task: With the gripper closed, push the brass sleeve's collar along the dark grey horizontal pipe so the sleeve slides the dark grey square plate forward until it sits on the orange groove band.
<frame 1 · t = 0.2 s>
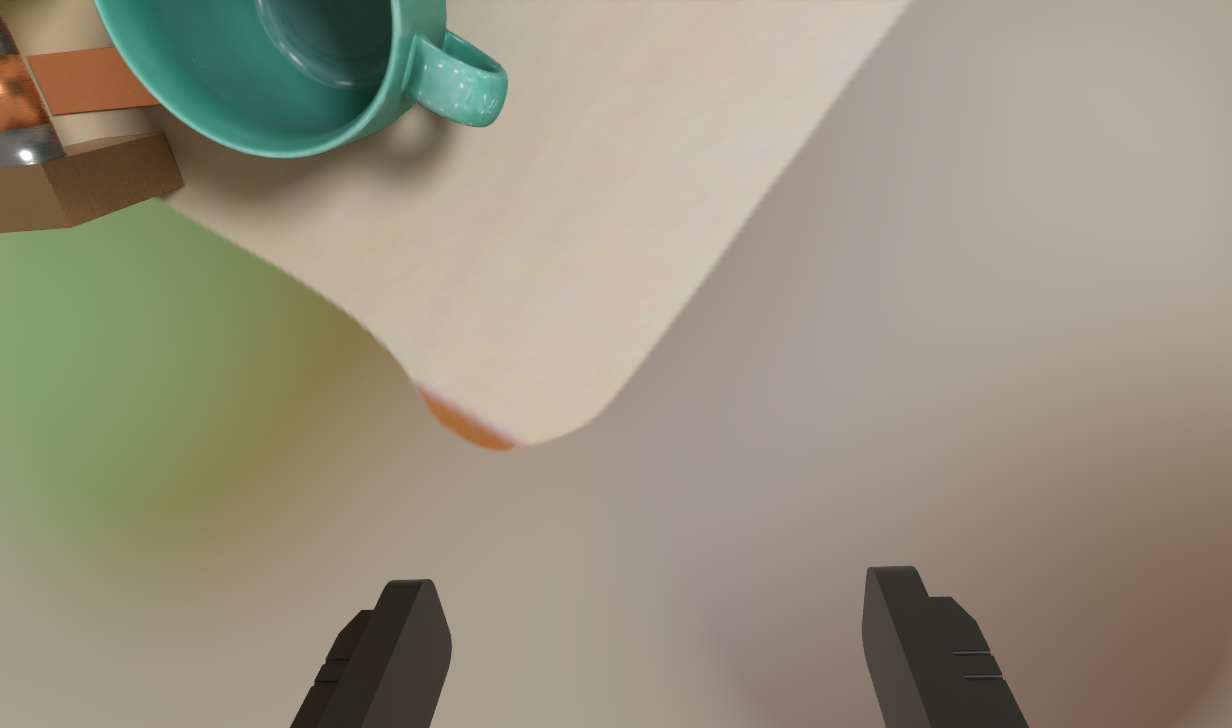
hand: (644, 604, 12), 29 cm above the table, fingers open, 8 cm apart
mug: (380, 19, 35), on the table
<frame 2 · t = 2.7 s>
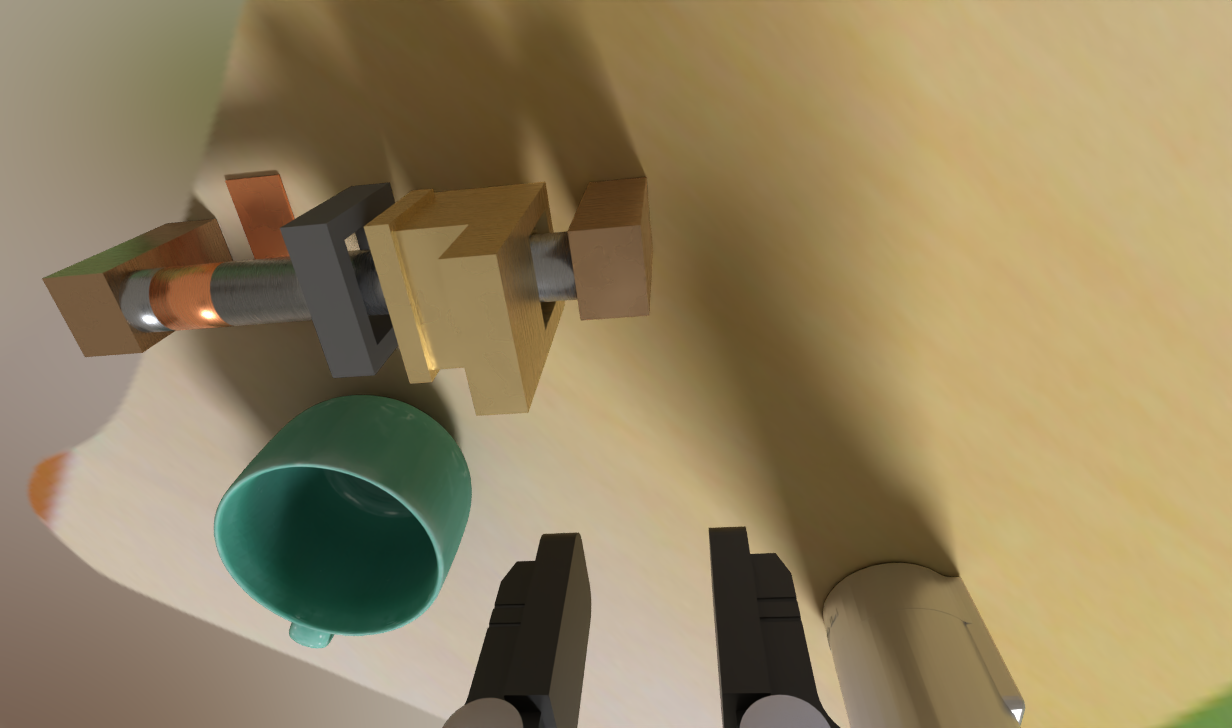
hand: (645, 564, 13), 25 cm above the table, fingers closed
dark grey square plate: (362, 276, 32), point 6 cm above the table, touching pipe
sleeve: (468, 290, 28), point 9 cm above the table, slide at 0.0 cm
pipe: (405, 237, 37), on the table
mug: (383, 471, 45), on the table
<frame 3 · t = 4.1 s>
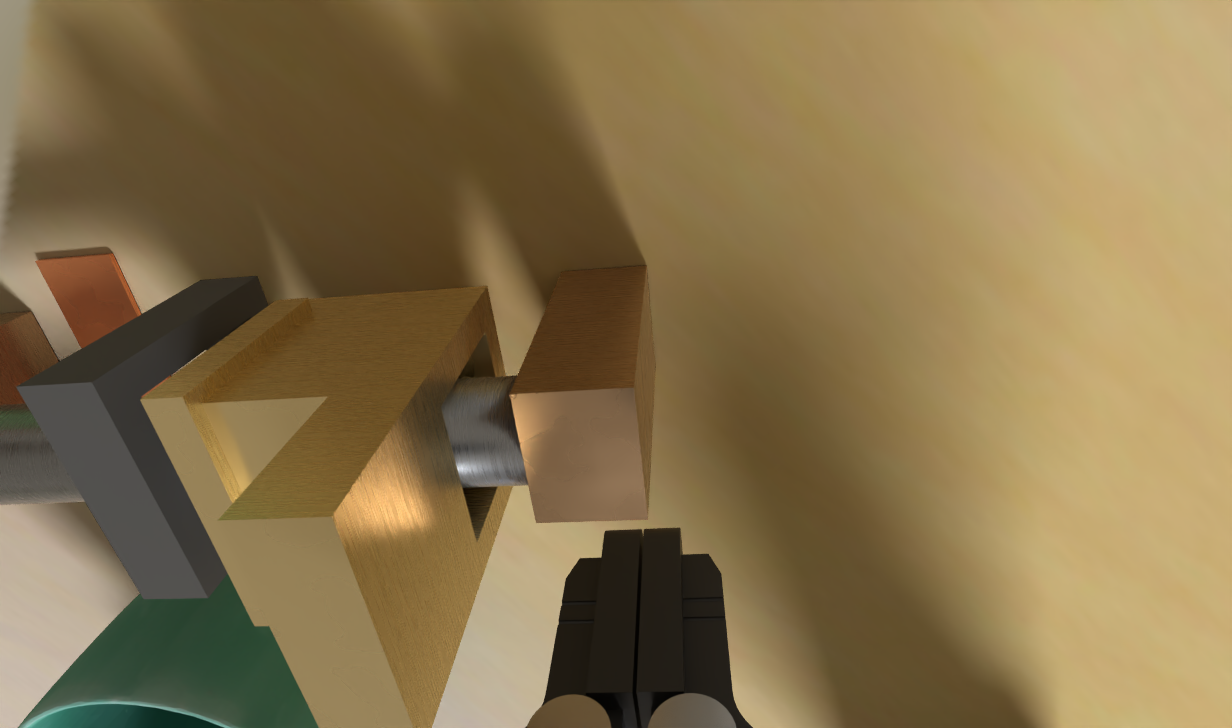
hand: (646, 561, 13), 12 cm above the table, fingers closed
dark grey square plate: (204, 426, 20), point 6 cm above the table, touching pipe
sleeve: (347, 480, 17), point 9 cm above the table, slide at 0.0 cm
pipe: (300, 340, 26), on the table
mug: (294, 628, 34), on the table
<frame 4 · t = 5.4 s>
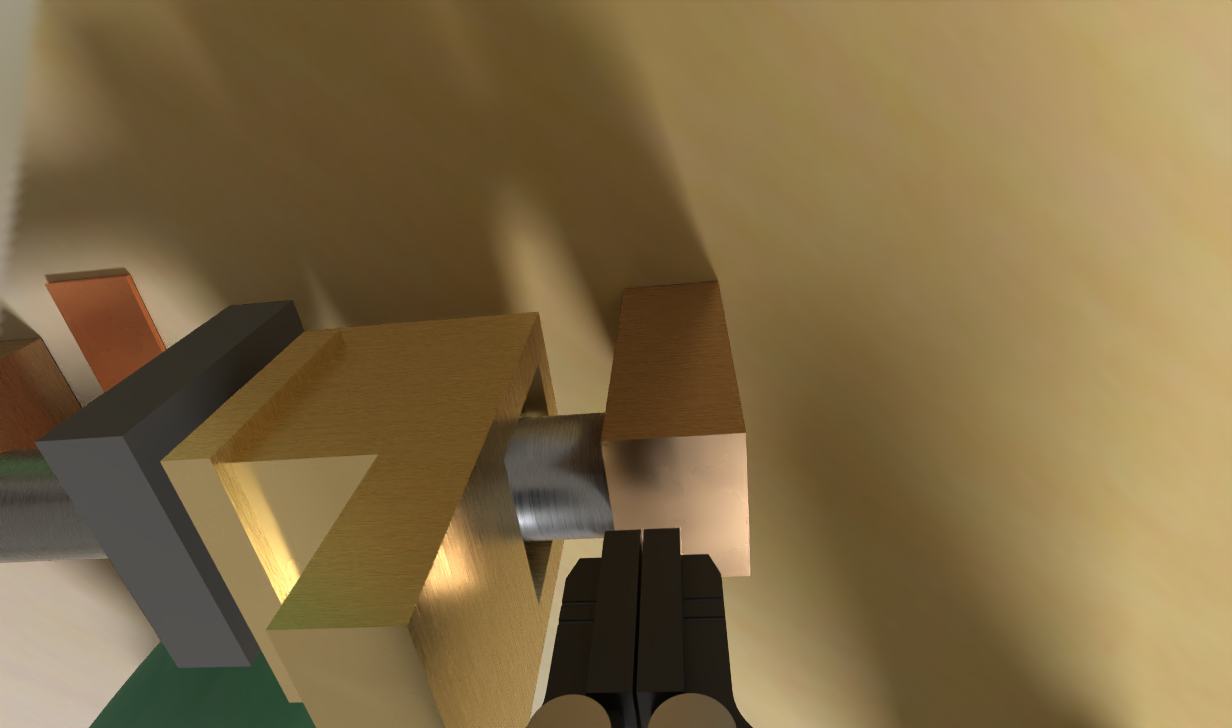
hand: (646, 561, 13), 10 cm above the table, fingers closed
dark grey square plate: (239, 470, 18), point 6 cm above the table, touching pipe
sleeve: (393, 539, 15), point 9 cm above the table, slide at 0.4 cm, touching gripper
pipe: (335, 366, 24), on the table
mug: (323, 665, 32), on the table
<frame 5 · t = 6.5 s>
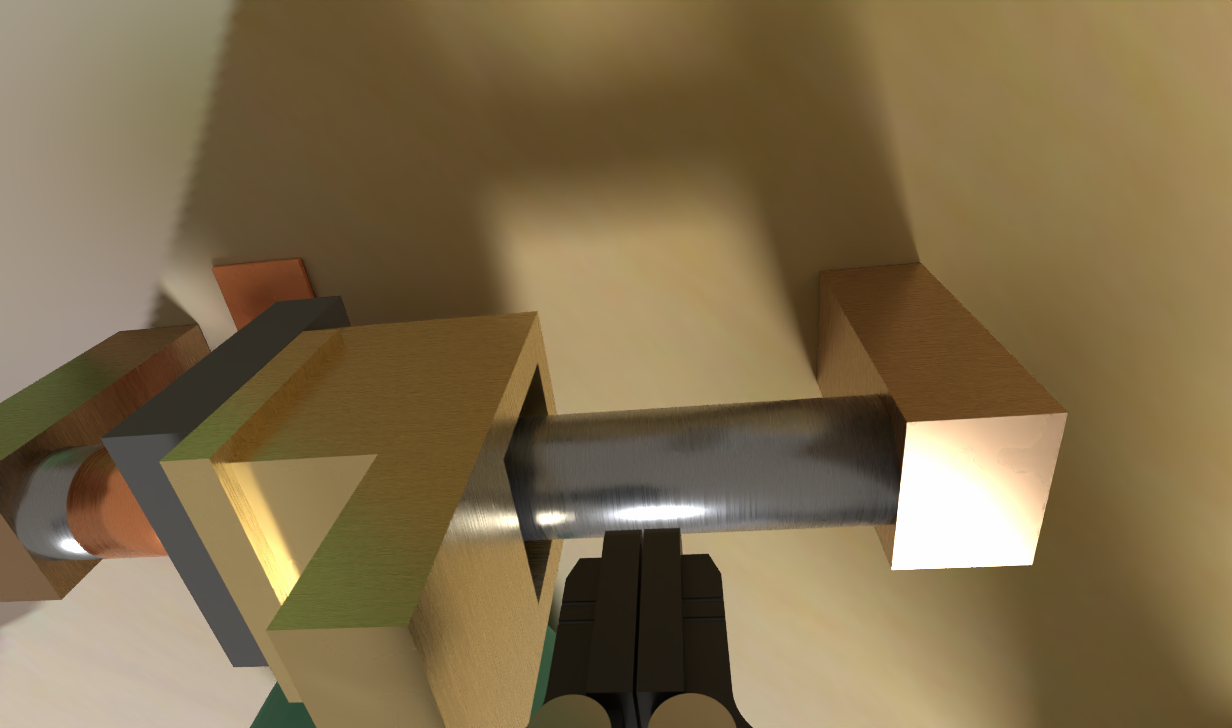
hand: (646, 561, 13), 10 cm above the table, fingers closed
dark grey square plate: (290, 467, 18), point 6 cm above the table, touching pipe
sleeve: (393, 539, 15), point 9 cm above the table, slide at 6.6 cm, touching gripper
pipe: (504, 353, 23), on the table
mug: (447, 662, 31), on the table
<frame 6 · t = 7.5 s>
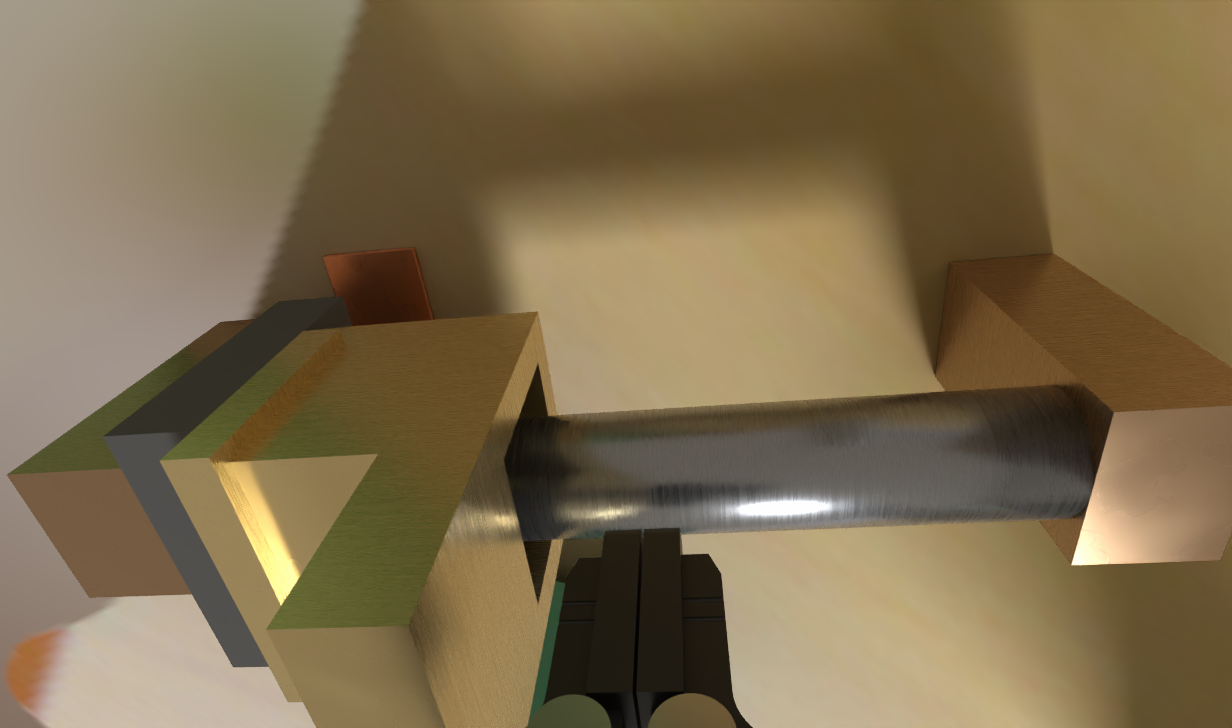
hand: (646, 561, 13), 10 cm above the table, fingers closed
dark grey square plate: (292, 468, 18), point 6 cm above the table, touching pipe, sleeve
sleeve: (392, 539, 15), point 9 cm above the table, slide at 10.5 cm, touching gripper, dark grey square plate
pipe: (615, 345, 22), on the table
mug: (526, 661, 31), on the table
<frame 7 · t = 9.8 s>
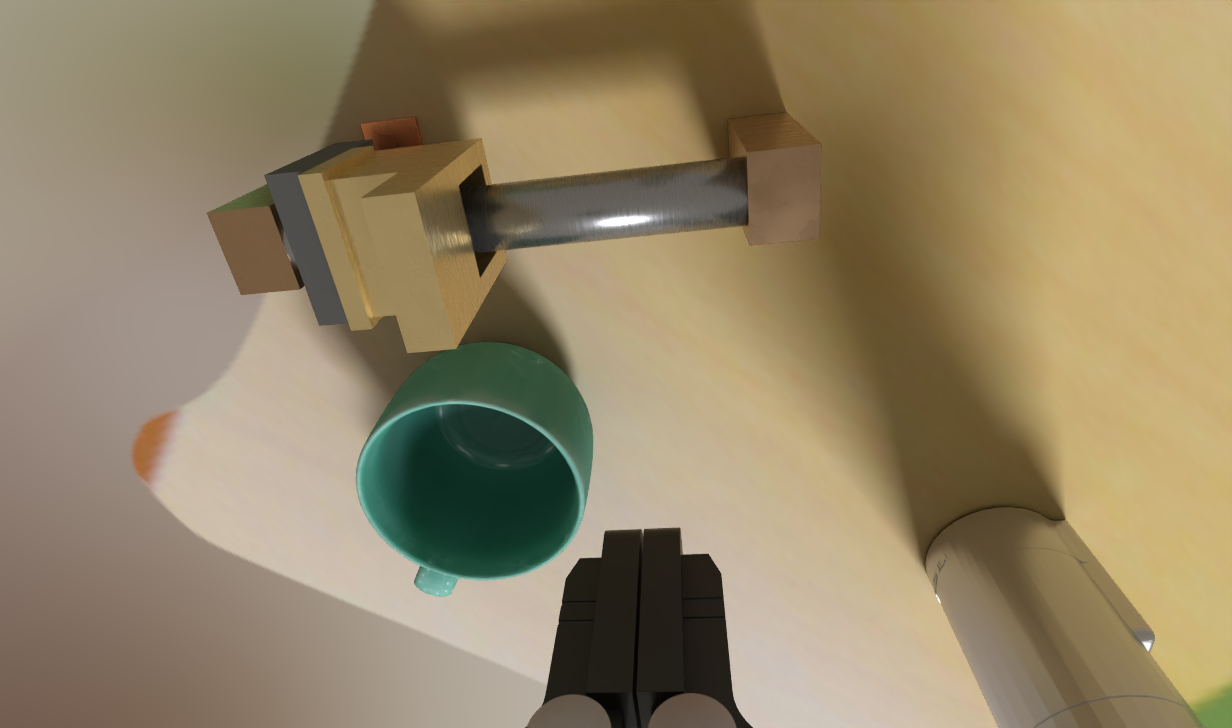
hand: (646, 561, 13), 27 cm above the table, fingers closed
dark grey square plate: (346, 228, 33), point 6 cm above the table, touching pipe, sleeve
sleeve: (404, 239, 30), point 9 cm above the table, slide at 10.6 cm, touching dark grey square plate
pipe: (538, 179, 37), on the table
mug: (493, 424, 45), on the table
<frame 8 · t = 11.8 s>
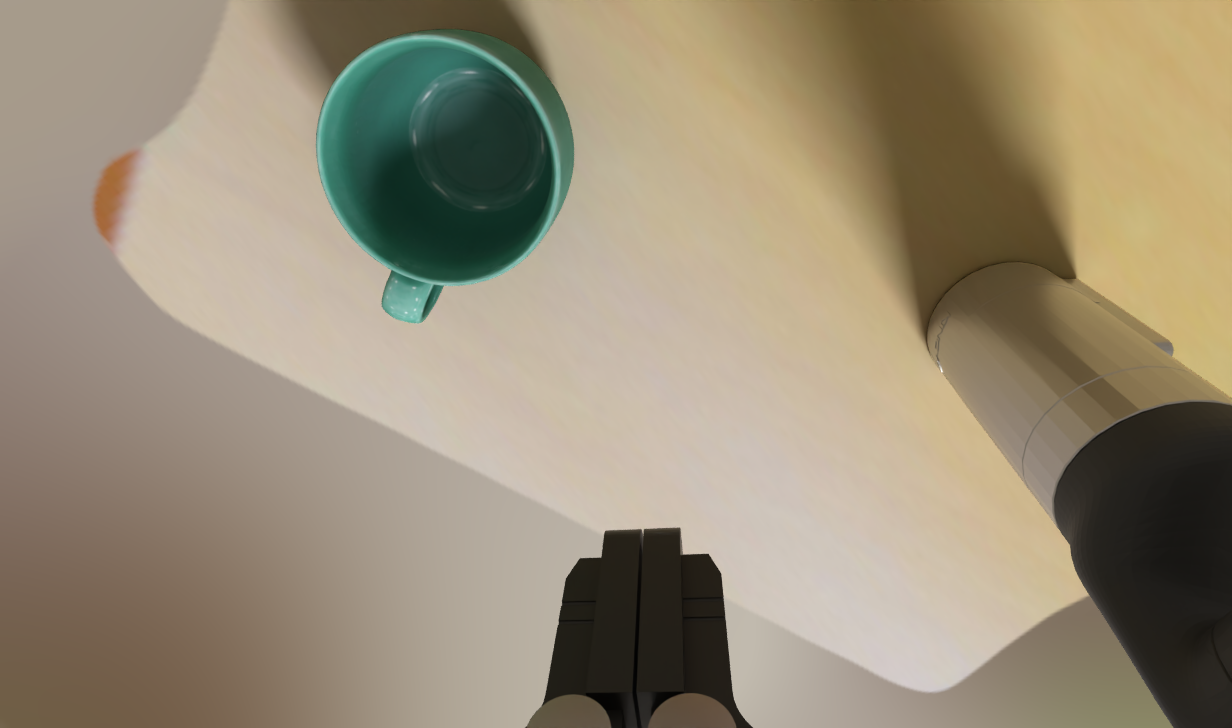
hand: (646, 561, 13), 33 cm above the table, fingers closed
mug: (471, 164, 43), on the table
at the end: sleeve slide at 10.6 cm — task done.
